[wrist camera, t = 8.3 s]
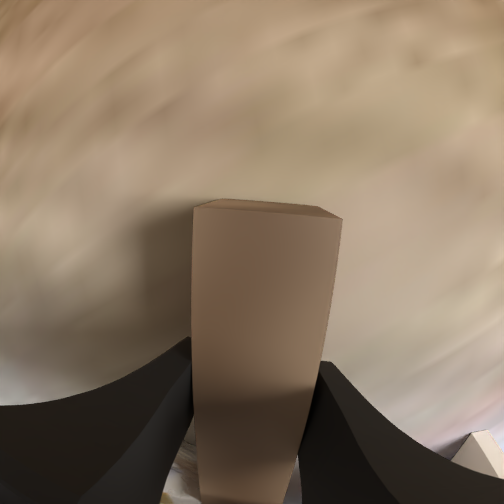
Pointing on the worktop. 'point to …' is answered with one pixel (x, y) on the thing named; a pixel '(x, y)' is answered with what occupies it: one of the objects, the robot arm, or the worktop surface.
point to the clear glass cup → (183, 478)
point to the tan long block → (256, 340)
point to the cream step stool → (481, 454)
